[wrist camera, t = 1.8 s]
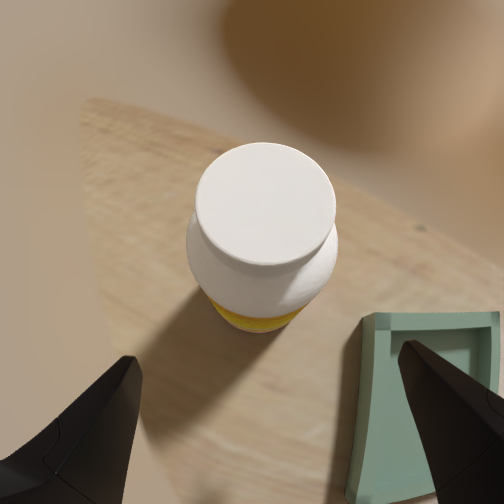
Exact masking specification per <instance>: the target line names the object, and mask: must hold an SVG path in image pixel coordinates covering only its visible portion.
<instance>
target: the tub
mask: <svg viewBox="0 0 504 504" xmlns="http://www.w3.org/2000/svg"><path fill="white" fill-rule="evenodd" d="M411 339H416V340H417V341H419V342H420V343H422V344H423V345H425V346H426V347H428V348H429V349H431V350H432V351H434V352H435V353H437V354H438V355H440V356H441V357H443V358H444V359H446V360H447V361H449V362H450V363H452V364H453V365H455V366H456V367H458V368H459V369H460V370H462V371H463V372H465V373H466V374H468V375H469V376H471V377H472V378H474V379H475V380H477V381H478V382H480V383H481V384H482V385H484V386H485V387H486V388H488V389H490V390H491V391H493V392H494V393H496V394H497V395H498V387H499V373H500V314H499V311H496V312H466V313H379V312H375V313H372V314H370V315H367V316H365V317H362V349H361V368H360V383H359V395H358V406H357V416H356V425H355V433H354V441H353V448H352V455H351V461H350V467H349V473H348V479H347V485H346V490H345V495H344V497H345V498H346V499H347V501H348V502H349V503H350V504H388V503H393V502H398V501H402V500H406V499H410V498H414V497H418V496H422V495H425V494H429V493H432V492H436V491H435V487H434V484H433V480H432V476H431V473H430V469H429V466H428V462H427V459H426V456H425V452H424V449H423V446H422V443H421V439H420V436H419V433H418V430H417V427H416V424H415V421H414V418H413V415H412V413H411V410H410V407H409V404H408V401H407V398H406V394H405V390H404V386H403V382H402V378H401V374H400V370H399V366H398V356H399V353H400V350H401V348H402V345H403V343H404V341H406V340H411Z"/></svg>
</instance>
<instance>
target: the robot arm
mask: <svg viewBox="0 0 504 504" xmlns="http://www.w3.org/2000/svg"><path fill="white" fill-rule="evenodd" d="M398 366H399V370H400V374H401V378H402V382H403V386H404V390H405V394H406V398H407V401H408V404H409V407H410V410H411V413H412V415H413V418H414V421H415V424H416V427H417V430H418V433H419V436H420V439H421V443H422V446H423V449H424V452H425V456H426V459H427V462H428V466H429V469H430V473H431V476H432V480H433V484H434V487H435V491H436V496H437V500H438V504H504V399H503V398H502V397H500V396H499V395H497V394H496V393H494V392H493V391H491V390H490V389H488V388H486V387H485V386H484V385H482V384H481V383H480V382H478V381H477V380H475V379H474V378H472V377H471V376H469V375H468V374H466V373H465V372H463V371H462V370H460V369H459V368H458V367H456V366H455V365H453V364H452V363H450V362H449V361H447V360H446V359H444V358H443V357H441V356H440V355H438V354H437V353H435V352H434V351H432V350H431V349H429V348H428V347H426V346H425V345H423V344H422V343H420V342H419V341H417V340H416V339H411V340H406V341H404V343H403V345H402V348H401V350H400V353H399V356H398ZM142 378H143V376H142V371H141V369H140V366H139V364H138V361H137V359H136V357H135V356H126V355H125V356H122V357H121V358H120V359H119V360H118V361H117V362H116V363H115V364H114V365H113V366H111V367H110V368H109V369H108V370H107V371H106V372H105V373H104V374H103V375H102V376H101V377H100V378H98V379H97V380H96V381H95V382H94V383H93V384H92V385H91V386H90V387H89V388H88V389H87V390H86V391H85V392H83V393H82V394H81V395H80V396H79V397H78V398H77V399H76V400H75V401H74V402H73V403H72V404H70V405H69V406H68V407H67V408H66V409H65V410H64V411H63V412H62V413H61V414H60V415H59V416H58V418H55V419H54V420H53V421H52V422H51V423H50V424H49V425H48V426H47V427H46V428H44V429H43V430H42V431H41V432H40V433H39V434H37V435H36V436H35V437H34V438H32V439H31V440H30V441H29V442H27V443H26V444H25V445H23V446H22V447H21V448H19V449H18V450H16V451H15V452H14V453H13V454H11V455H10V456H8V457H7V458H5V459H3V460H0V504H122V498H123V493H124V487H125V481H126V475H127V470H128V464H129V459H130V453H131V449H132V444H133V439H134V435H135V430H136V425H137V420H138V414H139V405H140V396H141V387H142Z"/></svg>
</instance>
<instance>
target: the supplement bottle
mask: <svg viewBox="0 0 504 504" xmlns="http://www.w3.org/2000/svg"><path fill="white" fill-rule="evenodd" d="M335 214H336V200H335V194H334V190H333V187H332V185H331V183H330V181H329V179H328V177H327V175H326V174H325V172H324V171H323V170H322V169H321V167H320V166H319V165H318V164H317V163H316V162H315V161H313V160H312V159H311V158H309V157H308V156H307V155H305V154H303V153H301V152H300V151H298V150H296V149H294V148H291V147H288V146H284V145H280V144H274V143H252V144H247V145H243V146H240V147H237V148H234V149H232V150H229V151H227V152H225V153H224V154H222V155H221V156H220V157H218V158H217V159H216V160H214V161H213V162H212V164H211V165H210V166H209V167H208V168H207V169H206V171H205V172H204V174H203V175H202V177H201V179H200V181H199V183H198V186H197V189H196V194H195V210H194V211H193V214H192V216H191V218H190V221H189V224H188V228H187V234H186V252H187V258H188V262H189V266H190V269H191V271H192V273H193V275H194V277H195V279H196V281H197V282H198V284H199V285H200V287H201V288H202V290H203V291H204V292H205V294H206V295H207V296H208V298H209V299H210V301H211V302H212V304H213V305H214V306H215V308H216V309H217V311H218V312H219V313H220V315H221V316H222V317H223V318H224V319H225V320H226V321H227V322H229V323H230V324H231V325H233V326H235V327H236V328H238V329H241V330H243V331H247V332H253V333H265V332H270V331H274V330H276V329H279V328H281V327H283V326H284V325H286V324H287V323H289V322H290V321H291V320H292V319H293V318H294V317H295V316H296V315H297V314H298V313H299V312H300V311H301V310H302V309H303V308H304V307H305V306H306V305H307V304H308V303H309V302H310V301H311V300H312V299H313V298H314V297H315V296H316V295H317V294H318V293H319V292H320V291H321V290H322V288H323V287H324V286H325V284H326V283H327V281H328V279H329V278H330V276H331V273H332V271H333V269H334V266H335V262H336V258H337V251H338V239H337V232H336V227H335V223H334V220H335Z"/></svg>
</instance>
